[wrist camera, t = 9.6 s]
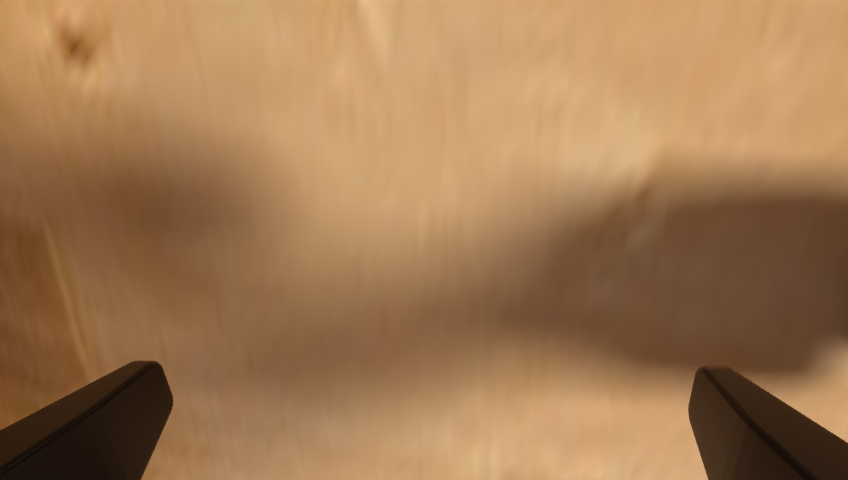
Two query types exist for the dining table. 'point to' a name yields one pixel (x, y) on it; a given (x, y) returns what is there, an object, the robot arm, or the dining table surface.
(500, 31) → the dining table surface
